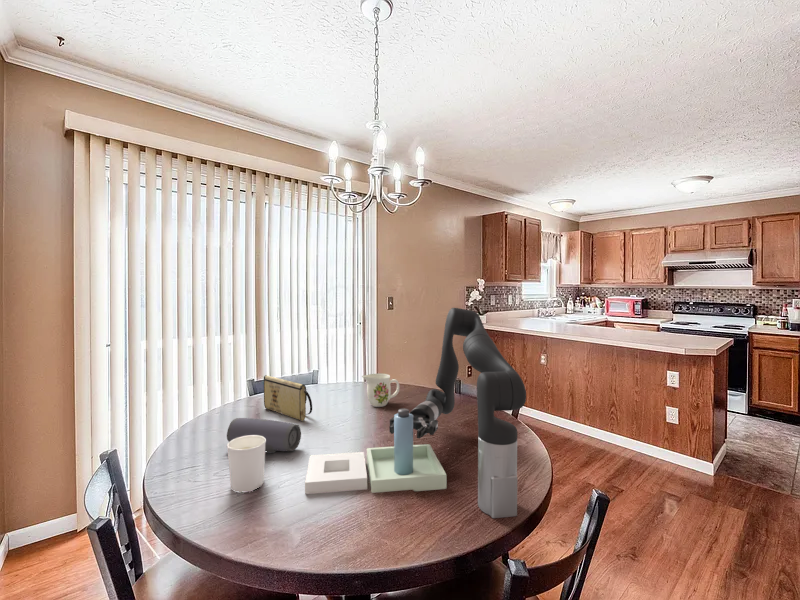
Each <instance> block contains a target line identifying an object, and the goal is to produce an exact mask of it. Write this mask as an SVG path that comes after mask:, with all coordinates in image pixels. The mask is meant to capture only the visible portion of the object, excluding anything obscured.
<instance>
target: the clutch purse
mask: <svg viewBox="0 0 800 600" xmlns="http://www.w3.org/2000/svg"><path fill="white" fill-rule="evenodd" d="M307 400H308V403H309V412H308V413H306V412H307V411H306V410H307V405H306V403H307ZM263 405H264V408H265V409H266V408H267V410H270V411H273V412H275V411H276V413H279V414H281V415H284V416H288V417H290V418H293V419H297V420H299V421H301V422H304V421H305V419H306V415H310V414H312V412H313V402H312V398H311V396H310V394H309V391H307V387H306V385H305V384H302V383H299V382H295V381H290V380H286V379H282V378H279V377H275V376H270V375H267V374H265V375H264V376H263ZM303 420H304V421H303Z"/></svg>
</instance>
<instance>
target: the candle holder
mask: <svg viewBox="0 0 800 600" xmlns="http://www.w3.org/2000/svg"><path fill="white" fill-rule="evenodd" d="M265 447H266V439H265V437H263V436H259V435H248V436H242V437H238V438H235V439H233V440H231V441H230V442H229V441H228V443H227V444H226V448H227V449H226V450H227V457H228V458H227V459H228V472H229V482H230V489H231V488H232V489H233V490H235V491H239V492H242V491H251V490H254V489H257V488H259V487H260V486H261V487H262V485H263V484H264V483H265V467H266V463H265V462H266V452H265ZM261 487H260V488H261ZM260 488H259V489H260ZM232 489H231V490H232ZM257 490H258V489H257Z"/></svg>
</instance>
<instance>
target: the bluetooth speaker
mask: <svg viewBox="0 0 800 600" xmlns="http://www.w3.org/2000/svg"><path fill="white" fill-rule="evenodd" d="M300 427H301V426H300V425H299V424H296V423H292V422H289V421H288V422H287V421H280V420H273V419H263V418H253V417H251V418H250V417H236V418H233V419H232V420H231V421H230V422H229V425H228V428H227V432H226V439H227V441H228V443H229V442H230V441H231V440H233V439H235V438H238V437H242V436H248V435H259V436H263V437H265V439H266V447H265V451H267V452H275V453H276V452H293V451H295V450H297V448H299V445H300V442H301V439H302V431H301V430H302V429H301V428H300Z"/></svg>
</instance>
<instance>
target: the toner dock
mask: <svg viewBox="0 0 800 600" xmlns="http://www.w3.org/2000/svg"><path fill="white" fill-rule="evenodd" d="M365 457H366V456H365V451H359V452H358V451H357V452H356V451H355V452H343V453H342V452H341V453H340V452H339V453H329V454H327V453H326V454H325V453H324V454H312V455H309V459H308V464H307V465H308V466H307V471H306V476H305V481H304V495H313V494H325V493H338V492H348V491H351V492H352V491H363V490H368V474H367V473H368V472H367V467H366V460H365Z"/></svg>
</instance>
